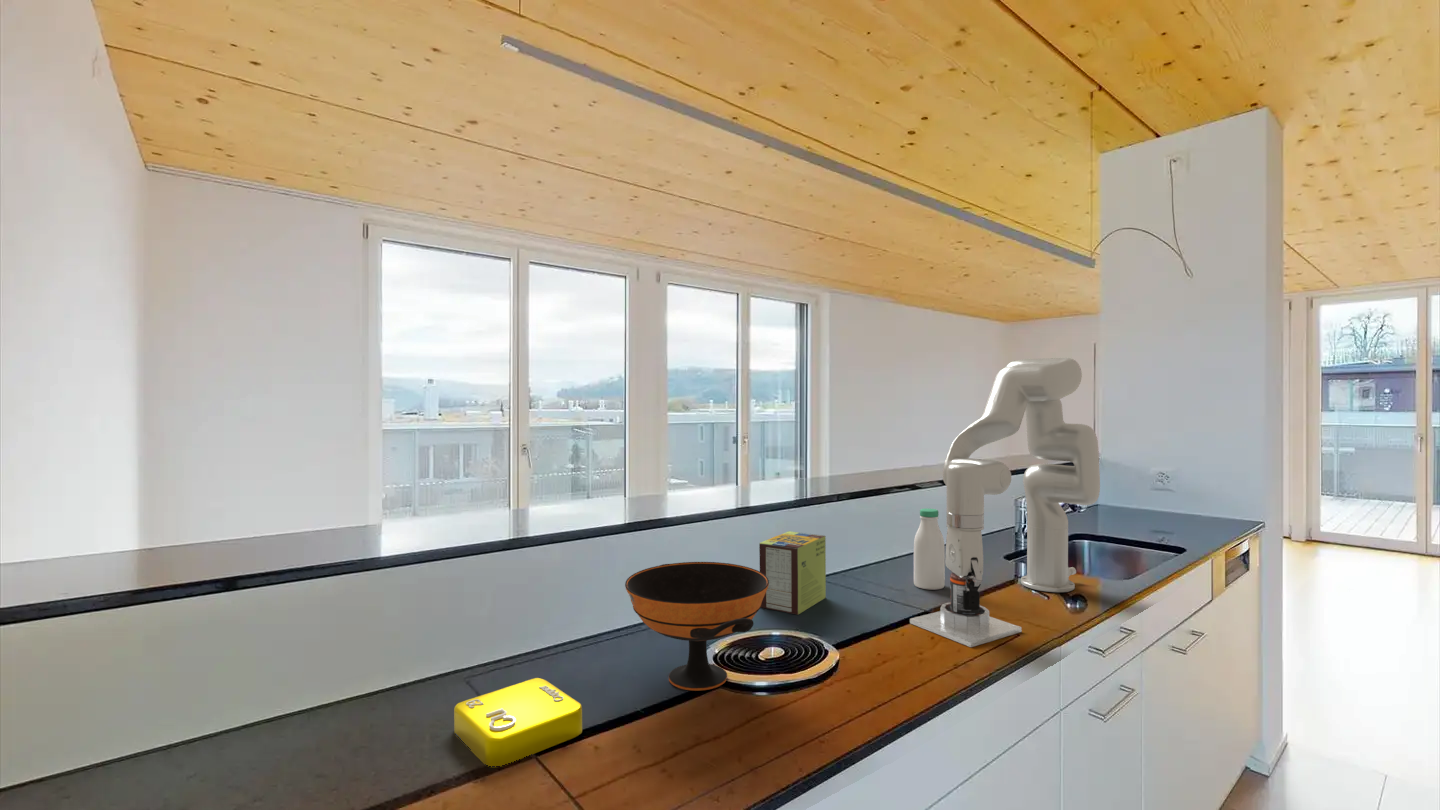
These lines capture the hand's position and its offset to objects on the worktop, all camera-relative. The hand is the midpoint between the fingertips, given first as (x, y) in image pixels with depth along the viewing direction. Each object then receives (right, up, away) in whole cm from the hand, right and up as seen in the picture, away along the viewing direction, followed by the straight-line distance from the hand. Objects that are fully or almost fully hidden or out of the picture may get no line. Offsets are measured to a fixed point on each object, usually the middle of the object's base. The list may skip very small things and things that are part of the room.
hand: (965, 603), depth 143 cm
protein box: (-35, -5, +18) cm, 40 cm away
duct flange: (0, -5, 0) cm, 5 cm away
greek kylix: (-57, -6, -24) cm, 62 cm away
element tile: (-83, -7, -42) cm, 94 cm away
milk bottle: (+2, -5, +30) cm, 31 cm away
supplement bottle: (0, -3, 0) cm, 3 cm away
